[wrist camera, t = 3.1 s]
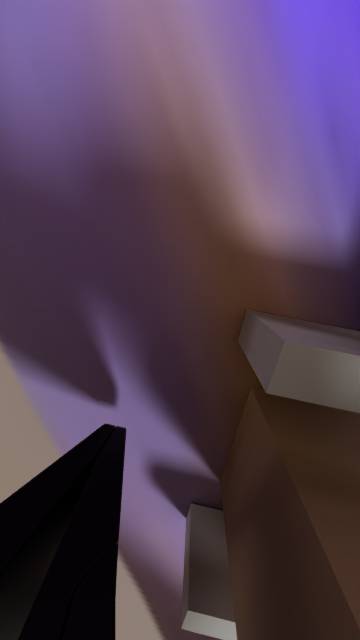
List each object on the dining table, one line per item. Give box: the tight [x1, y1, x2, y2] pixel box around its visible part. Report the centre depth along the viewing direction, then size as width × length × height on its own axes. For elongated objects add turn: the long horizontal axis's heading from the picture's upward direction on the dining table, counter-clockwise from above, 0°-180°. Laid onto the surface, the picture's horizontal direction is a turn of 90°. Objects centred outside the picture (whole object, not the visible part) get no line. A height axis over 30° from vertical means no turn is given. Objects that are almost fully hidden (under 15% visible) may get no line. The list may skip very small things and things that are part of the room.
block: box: [220, 388, 360, 640], centre depth 5 cm, size 5×5×6 cm
